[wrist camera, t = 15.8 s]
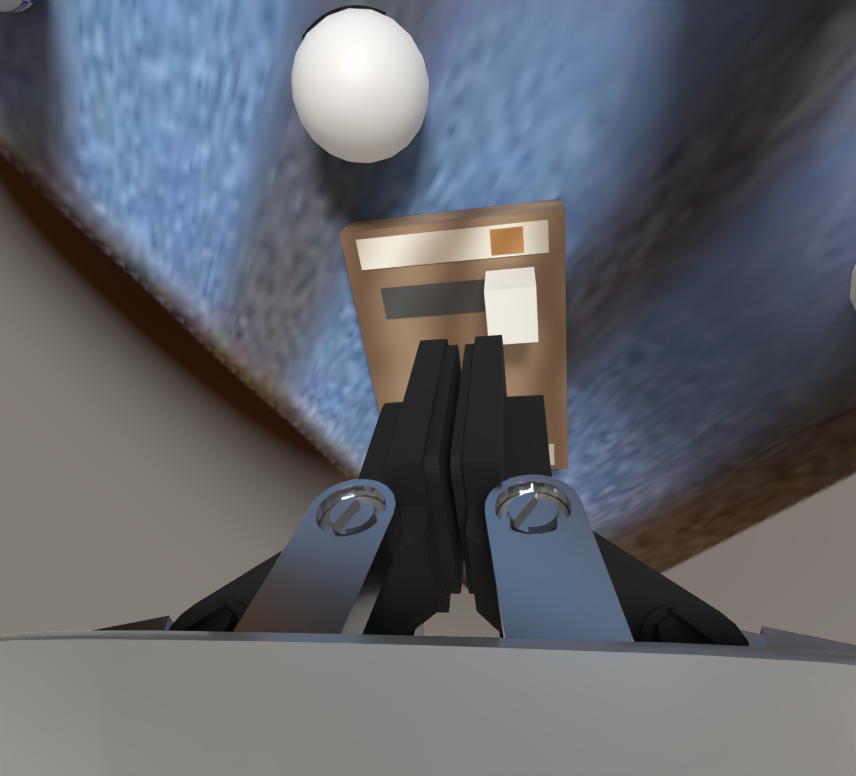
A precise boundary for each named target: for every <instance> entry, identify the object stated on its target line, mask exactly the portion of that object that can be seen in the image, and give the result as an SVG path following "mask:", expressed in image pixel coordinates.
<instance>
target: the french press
mask: <svg viewBox="0 0 856 776" xmlns="http://www.w3.org/2000/svg"><path fill="white" fill-rule="evenodd" d="M850 300H851V302H852V304H853V306H854V308H855V310H856V264H855V266H854V268H853V270H852V275H851V287H850Z"/></svg>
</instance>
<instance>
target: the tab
mask: <svg viewBox="0 0 856 776" xmlns="http://www.w3.org/2000/svg"><path fill="white" fill-rule="evenodd" d="M484 297H485V308H486V318H487V329H488V336H490V335H502V338H503V344H517V343H532V342H538V318H537V293H536V280H535V271H534V267H526V268H515V269H504V270H493V271H486V273H485V285H484Z"/></svg>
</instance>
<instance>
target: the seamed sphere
mask: <svg viewBox="0 0 856 776" xmlns="http://www.w3.org/2000/svg"><path fill="white" fill-rule="evenodd" d="M291 81H292V94H293V101H294V104H295V107H296V110H297V113H298V116H299V118H300V121H301V123H302V124H303V126H304V127H305V129H306V130H307V132H308V133H309V135H310V136H311V137H312V139H313V140H314V141H315V142H316V143H317V144H319V145H320V146H321V147H322V148H323V149H325V150H326V151H327V152H328V153H329V154H331V155H334V156H336V157H338V158H341V159H343V160H346V161H348V162H359V163H373V162H376V161H380V160H383V159H387V158H391V157H393V156H394V155H395V154H397V153H398V152H400V151H401V150H402V149H404V148H405V147H407V146H408V145H409V144H410V142H411V141H412V139H413V138H414V137H415V135H416V134H417V133H418V131H419V130H420V128H421V126H422V123H423V120H424V117H425V114H426V111H427V108H428V92H429V81H428V76H427V72H426V68H425V64H424V60H423V57H422V55H421V53H420V52H419V50H418V48H417V46H416V45H415V43H414V41H413V39H412V37H411V36H410V35H409V34H408V33H407V32H406V31H405V30H404V29H403V28H402V27H401V26H400V25H399V24H397V23H396V22H395V21H394V20H393V19H391V18H389V17H387V16H385V12H383V11H381V10H378V9H376V8H372V7H368V6H360V5H353V6H344V7H340V8H337V9H334V10H331V11H329V12H328V13H326V14H324V15H322V16H321V17H320V18H318V19H317V20H316V21H315V22H314V23H313V24H312V25H311V26H310V27H309V28H308V29H307V31H306V32H305V34H304V35H303V38H302V43H301V45H300V47H299V49H298V50H297V52H296V55H295V60H294V65H293V70H292V75H291ZM288 100H289V99H288ZM279 104H280V103H279ZM274 107H275V106H274ZM262 113H263V112H262ZM260 114H261V113H260ZM258 115H259V114H258Z"/></svg>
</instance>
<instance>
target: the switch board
mask: <svg viewBox="0 0 856 776" xmlns="http://www.w3.org/2000/svg"><path fill="white" fill-rule="evenodd" d="M339 234H340V239H341V243H342V248H343V252H344V257H345V261H346V266H347V270H348V275H349V279H350V284H351V288H352V293H353V297H354V301H355V306H356V310H357V315H358V319H359V324H360V328H361V333H362V337H363V342H364V346H365V351H366V355H367V360H368V364H369V369H370V373H371V378H372V382H373V387H374V391H375V395H376V400H377V404H378V409H379V413H380V412H381V409H382V407H383V405H384V404H385V403H391V402H403V399H404V396H405V392H406V389H407V385H408V382H409V378H410V374H411V371H412V367H413V364H414V360H415V357H416V353H417V349H418V346H419V342H420V340H434V339H447V340H448V343H449V345H458V348H459V355H460V363H461V371H462V364H463V356H464V349H465V344H474V342H475V337H476V336H488V329H487V318H486V308H485V297H484V285H485V273H486V271H493V270H504V269H515V268H526V267H534V271H535V280H536V293H537V318H538V342H532V343H517V344H503V350H504V363H505V376H506V389H507V397H508V396H527V395H543V396H544V404H545V414H546V424H547V434H548V444H549V454H550V464H551V469H568V446H567V354H566V262H565V208H564V205H563V202H562V199H557V200H547V201H538V202H529V203H520V204H511V205H502V206H493V207H484V208H475V209H466V210H457V211H448V212H439V213H430V214H420V215H411V216H402V217H393V218H384V219H375V220H366V221H357V222H349V223H348V224H347V225H346V226H345V227H344V229H343V230H342V231H341V232H340V233H339Z"/></svg>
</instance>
